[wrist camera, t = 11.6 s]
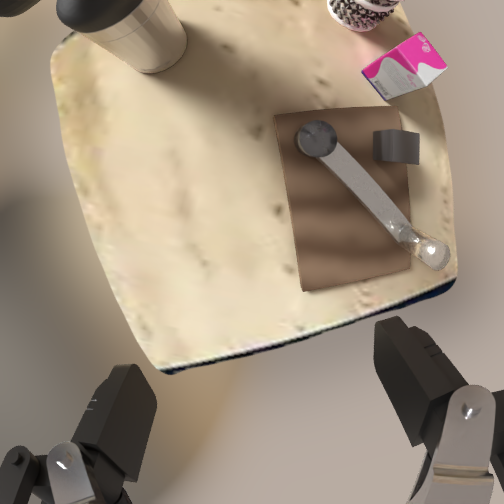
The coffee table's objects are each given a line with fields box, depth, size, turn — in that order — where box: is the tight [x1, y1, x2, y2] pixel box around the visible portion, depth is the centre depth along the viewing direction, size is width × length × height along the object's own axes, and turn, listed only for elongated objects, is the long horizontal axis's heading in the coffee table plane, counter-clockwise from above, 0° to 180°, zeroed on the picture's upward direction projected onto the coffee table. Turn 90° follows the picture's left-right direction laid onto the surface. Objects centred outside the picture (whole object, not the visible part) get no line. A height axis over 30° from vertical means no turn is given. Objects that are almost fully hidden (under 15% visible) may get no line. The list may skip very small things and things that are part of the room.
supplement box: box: [361, 32, 448, 101], centre depth 28 cm, size 6×6×12 cm
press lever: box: [294, 120, 450, 270], centre depth 31 cm, size 22×4×12 cm, turn 49°
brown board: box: [273, 106, 420, 292], centre depth 35 cm, size 25×18×8 cm
